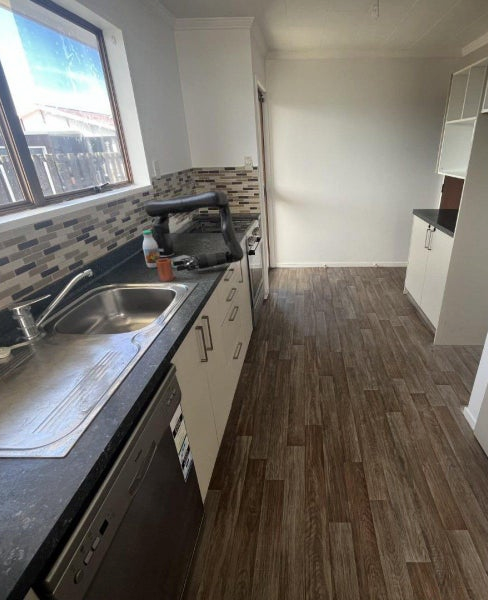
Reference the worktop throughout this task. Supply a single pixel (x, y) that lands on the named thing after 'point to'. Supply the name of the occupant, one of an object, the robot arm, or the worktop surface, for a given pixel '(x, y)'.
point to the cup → (165, 270)
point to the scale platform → (179, 258)
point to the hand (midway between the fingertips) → (175, 266)
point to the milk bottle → (150, 249)
